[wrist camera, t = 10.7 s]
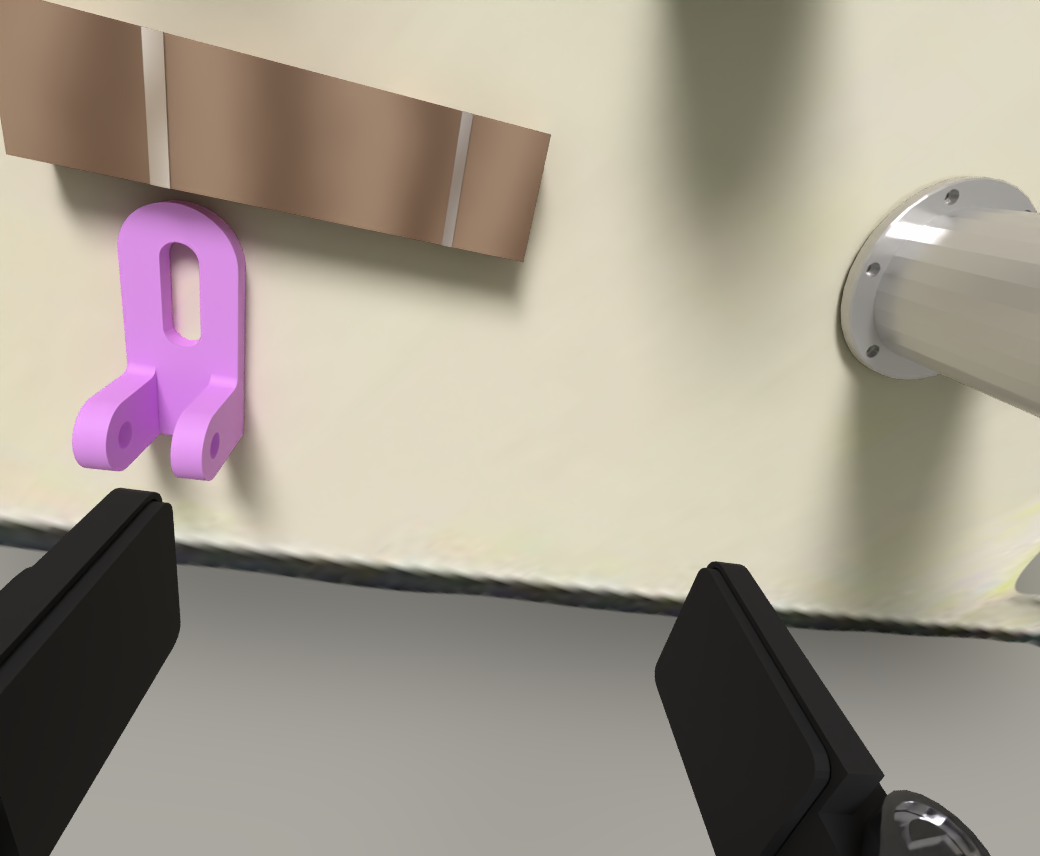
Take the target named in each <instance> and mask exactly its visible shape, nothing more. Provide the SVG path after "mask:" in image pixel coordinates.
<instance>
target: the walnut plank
mask: <svg viewBox="0 0 1040 856" xmlns="http://www.w3.org/2000/svg"><path fill="white" fill-rule="evenodd" d="M0 118H1V124H2V130H3V137H4V143H5V149H6V154H8V155H12V156H17V157H22V158H27V159H32V160H36V161H41V162H46V163H51V164H56V165H60V166H65V167H70V168H75V169H80V170H84V171H89V172H94V173H99V174H104V175H108V176H113V177H118V178H123V179H127V180H132V181H137V182H142V183H147V184H150V185H155V186H159V187H164V188H169V189H175V190H180V191H185V192H190V193H195V194H199V195H204V196H209V197H214V198H219V199H223V200H228V201H233V202H238V203H242V204H247V205H252V206H257V207H262V208H266V209H271V210H276V211H281V212H286V213H290V214H295V215H300V216H305V217H310V218H314V219H319V220H324V221H329V222H334V223H338V224H343V225H348V226H353V227H357V228H362V229H367V230H372V231H377V232H381V233H386V234H391V235H396V236H401V237H405V238H410V239H415V240H420V241H425V242H429V243H434V244H439V245H442V246H447V247H453V248H458V249H463V250H468V251H473V252H477V253H482V254H487V255H492V256H496V257H501V258H506V259H511V260H516V261H520V262H523V261H524V256H525V252H526V247H527V243H528V238H529V233H530V229H531V224H532V220H533V215H534V210H535V206H536V201H537V197H538V192H539V188H540V183H541V178H542V174H543V169H544V165H545V160H546V155H547V151H548V146H549V142H550V137H551V134H547V133H543V132H539V131H535V130H532V129H528V128H524V127H520V126H516V125H513V124H509V123H505V122H501V121H497V120H494V119H490V118H486V117H482V116H479V115H475V114H472V113H468V112H464V111H460V110H456V109H452V108H448V107H444V106H441V105H437V104H433V103H429V102H425V101H422V100H418V99H414V98H410V97H407V96H403V95H399V94H395V93H391V92H388V91H384V90H380V89H376V88H372V87H369V86H365V85H361V84H357V83H353V82H350V81H346V80H342V79H338V78H334V77H331V76H327V75H323V74H319V73H316V72H312V71H308V70H304V69H300V68H297V67H293V66H289V65H285V64H281V63H278V62H274V61H270V60H266V59H262V58H259V57H255V56H251V55H247V54H243V53H240V52H236V51H232V50H228V49H225V48H221V47H217V46H213V45H209V44H206V43H202V42H198V41H194V40H190V39H187V38H183V37H179V36H175V35H171V34H168V33H164V32H161V31H157V30H153V29H149V28H146V27H142V26H137V25H134V24H130V23H126V22H122V21H118V20H115V19H111V18H107V17H103V16H99V15H96V14H92V13H88V12H84V11H80V10H77V9H73V8H69V7H65V6H61V5H58V4H54V3H50V2H46V1H43V0H0Z"/></svg>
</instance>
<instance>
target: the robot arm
mask: <svg viewBox="0 0 1040 856" xmlns="http://www.w3.org/2000/svg"><path fill="white" fill-rule="evenodd" d="M841 326H842V330H843V334H844V338H845V341H846V343H847V345H848V347H849V349H850V351H851V353H852V354H853V355H854V356H855V357H856V358H857V359H858V360H859V362H860V363H862V364H863V365H865V366H866V367H868V368H870V369H871V370H873V371H875V372H877V373H880V374H882V375H884V376H886V377H890V378H895V379H900V380H915V379H922V378H927V377H932V376H935V375H938V374H942V375H944V376H947V377H949V378H951V379H953V380H956V381H958V382H960V383H962V384H965V385H967V386H969V387H971V388H974V389H976V390H978V391H980V392H983V393H985V394H987V395H989V396H992V397H994V398H996V399H998V400H1001V401H1003V402H1005V403H1007V404H1010V405H1012V406H1014V407H1016V408H1019V409H1021V410H1023V411H1025V412H1028V413H1030V414H1032V415H1034V416H1037V417H1039V418H1040V213H1037V211H1036V209H1035V207H1034V205H1033V204H1032V202H1031V200H1030V199H1029V197H1028V196H1027V195H1026V194H1025V193H1023V192H1022V191H1021V190H1020V189H1019V188H1018V187H1017V186H1014V185H1012V184H1010V183H1008V182H1006V181H1004V180H1000V179H993V178H987V177H961V178H956V179H951V180H946V181H943V182H940V183H938V184H935V185H933V186H930V187H928V188H925V189H924V190H922V191H920V192H919V193H917V194H915V195H914V196H912V197H910V198H909V199H907V200H906V201H905V202H903V203H902V204H901V205H900V206H898V207H897V208H896V209H895V210H894V211H892V212H891V213H890V214H889V215H888V216H887V217H886V218H885V219H884V220H883V221H882V222H881V223H880V225H879V226H878V227H877V228H876V229H875V230H874V231H873V232H872V234H871V235H870V237H869V238H868V240H867V241H866V242H865V244H864V245H863V247H862V248H861V250H860V251H859V253H858V255H857V257H856V259H855V261H854V263H853V265H852V267H851V269H850V272H849V275H848V278H847V281H846V284H845V287H844V291H843V297H842V303H841ZM177 580H178V579H177V565H176V550H175V536H174V521H173V510H172V506H171V504H169V503H164V502H162V498H161V496H160V494H158V493H156V492H149V491H141V490H133V489H125V488H117V489H114V490H113V491H111V492H110V493H109V494H108V495H107V496H106V497H105V498H104V499H103V500H102V501H101V502H100V503H99V504H97V505H96V506H95V507H94V508H93V509H92V510H91V511H90V512H89V513H88V514H87V515H86V516H85V517H84V518H83V519H82V520H81V521H80V522H79V523H78V524H76V525H75V526H74V527H73V528H72V529H71V530H70V531H69V532H68V533H67V534H66V535H65V536H64V537H63V538H62V539H61V540H60V541H59V542H58V543H57V544H56V545H54V546H53V547H52V548H51V549H50V550H49V551H48V552H47V553H46V554H45V555H44V556H43V557H42V558H41V559H40V560H39V561H38V562H37V563H36V564H35V565H33V566H32V567H29V568H26V569H25V570H23V571H22V572H21V573H19V574H18V575H17V576H16V577H14V578H13V579H12V580H11V581H10V582H9V583H8V584H7V585H6V586H5V587H4V588H3V589H2V590H0V856H49V855H50V854H51V852H52V850H53V849H54V847H55V845H56V843H57V842H58V840H59V838H60V836H61V835H62V833H63V832H64V830H65V828H66V827H67V825H68V823H69V822H70V820H71V818H72V817H73V815H74V813H75V812H76V810H77V808H78V806H79V805H80V803H81V801H82V800H83V798H84V796H85V795H86V793H87V791H88V790H89V788H90V786H91V785H92V783H93V781H94V780H95V778H96V776H97V775H98V773H99V771H100V769H101V768H102V766H103V764H104V763H105V761H106V759H107V758H108V756H109V754H110V753H111V751H112V749H113V748H114V746H115V744H116V743H117V741H118V739H119V737H120V736H121V734H122V733H123V731H124V729H125V727H126V726H127V724H128V722H129V721H130V719H131V717H132V716H133V714H134V712H135V711H136V709H137V707H138V705H139V704H140V702H141V700H142V699H143V697H144V696H145V694H146V692H147V691H148V689H149V687H150V685H151V684H152V682H153V680H154V679H155V677H156V675H157V674H158V672H159V670H160V669H161V667H162V665H163V663H164V662H165V660H166V658H167V657H168V655H169V654H170V652H171V650H172V649H173V647H174V645H175V643H176V640H177V638H178V634H179V631H180V608H179V594H178V581H177ZM655 682H656V685H657V689H658V692H659V695H660V697H661V700H662V703H663V706H664V709H665V712H666V715H667V718H668V720H669V723H670V726H671V729H672V732H673V735H674V737H675V740H676V743H677V746H678V749H679V752H680V755H681V757H682V760H683V763H684V766H685V769H686V772H687V775H688V778H689V780H690V783H691V786H692V789H693V792H694V795H695V798H696V800H697V803H698V806H699V809H700V812H701V814H702V818H703V820H704V823H705V826H706V829H707V832H708V835H709V838H710V840H711V843H712V846H713V849H714V852H715V855H716V856H990V854H989V852H988V850H987V849H986V848H985V847H984V845H983V844H982V843H981V842H980V840H979V839H978V838H977V837H976V835H975V834H974V833H973V832H972V831H971V830H970V829H969V828H968V827H967V826H966V825H965V824H964V823H963V822H962V821H961V820H960V819H959V818H957V817H956V816H955V815H954V814H952V813H951V812H950V811H948V810H947V809H946V808H944V807H943V806H941V805H940V804H939V803H937V802H935V801H933V800H931V799H929V798H927V797H925V796H923V795H921V794H918V793H914V792H911V791H907V790H900V791H899V790H898V791H893V792H891V793H890V794H888V795H887V794H886V793H885V791H884V790H883V788H882V787H881V785H880V783H879V782H880V781H881V780H882V778H883V777H884V774H883V772H882V771H881V769H880V768H879V766H878V765H877V764H876V762H875V760H874V759H873V757H872V756H871V754H870V753H869V751H868V750H867V748H866V747H865V745H864V744H863V742H862V741H861V739H860V738H859V736H858V735H857V733H856V732H855V731H854V729H853V727H852V726H851V724H850V723H849V721H848V720H847V718H846V717H845V715H844V714H843V712H842V711H841V709H840V708H839V706H838V705H837V703H836V702H835V700H834V699H833V697H832V696H831V694H830V693H829V691H828V690H827V688H826V687H825V685H824V684H823V682H822V681H821V679H820V678H819V676H818V675H817V673H816V672H815V670H814V669H813V667H812V666H811V664H810V663H809V661H808V660H807V658H806V657H805V655H804V654H803V652H802V651H801V649H800V647H799V646H798V644H797V643H796V642H795V640H794V638H793V637H792V636H791V634H790V633H789V631H788V629H787V628H786V626H785V625H784V623H783V622H782V620H781V619H780V617H779V616H778V614H777V613H776V611H775V610H774V608H773V607H772V605H771V604H770V602H769V601H768V599H767V598H766V596H765V595H764V593H763V592H762V590H761V589H760V587H759V586H758V584H757V583H756V581H755V580H754V578H753V577H752V575H751V574H750V572H749V571H748V570H747V568H746V567H745V566H743V565H740V564H732V563H724V562H716V561H715V562H711V563H710V564H709V565H708V566H707V568H702V569H701V570H700V571H699V572H698V574H697V576H696V578H695V581H694V583H693V585H692V587H691V589H690V591H689V594H688V596H687V598H686V600H685V602H684V605H683V607H682V609H681V611H680V613H679V616H678V618H677V620H676V622H675V624H674V627H673V629H672V631H671V633H670V635H669V638H668V640H667V642H666V644H665V646H664V648H663V651H662V653H661V655H660V657H659V660H658V662H657V664H656V667H655Z"/></svg>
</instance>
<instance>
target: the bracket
mask: <svg viewBox="0 0 1040 856" xmlns="http://www.w3.org/2000/svg"><path fill="white" fill-rule="evenodd" d="M174 242H179V243H182V244H185V245H187V246H188V247H190V248H191V249H192V250H193V251H194V252H195V254H196V255H197V258H198V260H199V277H200V317H201V337H200V340H189V339H186V338H184V337H182V336H181V335H180V334H179V333H178V332H177V331H176V330H175V328H174V326H173V318H172V296H171V275H170V254H169V251H170V247H171V245H172V244H173V243H174ZM118 259H119V270H120V282H121V294H122V306H123V317H124V329H125V341H126V352H127V368H126V371H125V373H124V374H123V375H121V376H120V377H118V378H117V379H116V380H114V381H113V382H112V383H110V384H109V385H107V386H106V387H105V388H103V389H102V390H100V391H99V392H98V393H96V394H95V395H93V396H92V397H91V398H89V399H88V400H87V401H86V402H85V404H84V405H83V406H82V408H81V410H80V411H79V414H78V416H77V418H76V421H75V425H74V429H73V437H72V446H73V453H74V456H75V459H76V461H77V462H78V464H79V465H80V466H82V467H84V468H92V469H101V470H111V471H122V470H124V469H126V468H127V467H128V466H129V465H130V464H131V463H132V462H133V461H134V460H135V459H136V458H137V457H138V456H139V455H140V454H141V453H142V452H143V451H144V450H145V449H146V447H147V446H148V445H149V444H150V443H151V442H152V441H153V440H154V439H155V438H156V437H157V436H158V435H159V434H168V435H173V438H172V443H171V454H170V458H171V467H172V471H173V473H174V475H175V476H176V477H178V478H187V479H196V480H206V481H210V480H212V479H213V478H214V477H215V475H216V474H217V473H218V471H219V470H220V468H221V467H222V465H223V464H224V462H225V461H226V459H227V458H228V456H229V455H230V453H231V452H232V450H233V449H234V447H235V446H236V444H237V443H238V441H239V440H240V438H241V437H242V435H243V434H244V361H245V258H244V253H243V250H242V247H241V245H240V242H239V240H238V238H237V237H236V235H235V234H234V232H233V231H232V230H231V228H230V227H229V226H228V225H227V224H226V223H225V222H224V221H223V220H222V219H221V218H220V217H219V216H217V215H216V214H215V213H213V212H212V211H210V210H208V209H206V208H204V207H202V206H200V205H198V204H195V203H191V202H187V201H181V200H168V201H162V202H157V203H152V204H148V205H145V206H142V207H140V208H139V209H137V210H135V211H134V212H133V213H131V214H130V215H129V216H128V217H127V219H126V220H125V221H124V223H123V225H122V227H121V229H120V232H119V236H118Z"/></svg>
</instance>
